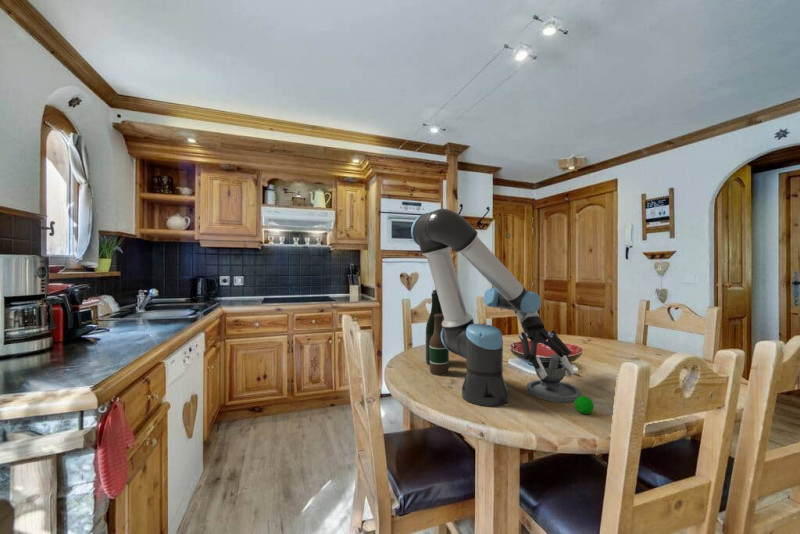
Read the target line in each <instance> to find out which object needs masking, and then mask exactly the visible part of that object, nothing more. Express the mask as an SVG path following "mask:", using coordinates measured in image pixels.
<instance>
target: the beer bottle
mask: <svg viewBox="0 0 800 534" xmlns="http://www.w3.org/2000/svg"><path fill="white" fill-rule="evenodd" d="M434 317H435V323H434V334H433V335H432V337H431V339H430V345H429V352H430V365H429V372H430V374H432V375H434V376H445V375H447V374H448V373H449V372H450V371H449V369H450V365H449V364H450V363H449V362H450V351H449V350H448V349H446V348H445V346H444V345H443V343H442V341H441V331H442V328H443V327H442V322H443V315H442V314H435V315H434Z"/></svg>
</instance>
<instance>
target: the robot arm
mask: <svg viewBox="0 0 800 534" xmlns="http://www.w3.org/2000/svg"><path fill="white" fill-rule="evenodd" d="M410 228H411V229H410V234H411V238H412V240H413V242H414V243H415V244H416V245H418V246H419V249H420V253H421V255H422V256H424V257H426V258H427V262H428V265H429V269H430V273H431V275H432V280H433V283H434V286H435V287H434V288H435V290H436V291H437V295H438V298H439V302H440V305H441V309H442V312H443V316H444V320H443V322H442V327H443V328H442V331H441V341H442V343H443V345H444V346H445V348H446V349H448V350H449V353H452V354H454V355H457V356H459V357H462V358H463V359H465V360H466V375H465V378H464V381H463V384H462V387H461V397H462V399H464V400H465V401H466V402H469V403H471V404H473V405H478V406H482V407H483V406H484V407H485V406H486V407H494V406H501V405H505V404H506V403H507V402H509V390H508V387H507V383H506V381H505V377H504V375H503V369H504V365H503V362H504V361H503V359H504V356H503V353H504V352H503V351H504V350H503V349H504V346H503V345H504V340H503V333H502V331H501V330H500V329H499V328H498V327H496V326H493V325H490V324H485V323H475V322H474V318H473V316H472V315H471V314H470V313H468V312H467V308H466V304H465V300H464V298H463V294H462V291H461V286H460V283H459V279H458V275H457V272H456V269H455V265H454V260H453V257H452V254H451V250H452V251H454V252H455V253H457V254H458V253H460V254H461V255H462V256H463V257H464V258H465V260H467V262H469V263H470V264H471V265H472V266H473V267H474V268H475V269H476V271H478V272H479V273H480V274H481V276H483V278H485V280H486V281H487V282H488V283H489V284H490V285H491V286H492V287H488V288H486V290H485V291H484V292H483V293H484V295H483V302H484V304H485V305H486V306H487V307H489V308H494V309H495V308H496V309H497V308H498V309H501V310H507V311H513V312H514V314H515V316H516V317H517V319H518V321H519V323H520V327H521V328H522V330H523V331H522V332H521V333H520V335H518V337H519V340H520V341H521V346H522V353H523V358H524V360H526V361H527V360H528V361H529V363H532V366H533V367H534V370H535V369H537V370H538V372H539V374H540V376H541V378H542V379H544V378H545V377H546V376H547V373H546V371H545V369H544V367H543V365H542V363H541V361H542V360H541V359H540V357H539V356H538V357H537V349H538V344H544V346H547V347H548V348H550V349H551V350H552V351H553V352H554V354H557V355H559V357H560V360H559V361H560V363H561V364H563V365H564V366H565V367H566V373H567V375H568V377H572V376H573V375H575V374H576V372H575V370H574V368H573V366H572V362H571V360H570V358H569V356H570V355H571V353H572V351H571V350H570V349H569V348H568V346H567V345H566V344H565V343H564V342H563V341H562V340H561V338H560V337H559V336H558V335H557V333H556V331H555V330H553V329H552V330H551V331H548V330H547V329H545V324H544V322H543V321H542V318H541V317H540V314H539V313H538V311H539V310H540V309H541V306H542V300H541V296H540V295H539V294H538V293H537V292H534V291H531V290H527V289H526V288H525V286H524V285H523V284H522V283H521V282H520V281H519V280H518V279H517V278H516V277H515V275H513V274H512V273H511V271H509V269H508V268H507V267H506V266H505V265H504V264H503V263H502V262H501V260H499V259H498V258H497V256H496V255H495V254H494V253H493V252H492V251H491V249H490V248H488V247H487V245H486V244H484V242H483V241H482V240H481V239H480V237H478V231H477V230H476V228H475V227H473V225H472V224H471V223H470V222H468V220H467V219H465V218H464V217H463V216H461V215H460V214H458V212H455V211H453V210H451V209H448V208H439V209H435V210H433V211H430V212H425V213H423V214H421V215H419V216H418V217H416V218H415V219H414V221H413V223H412V224H411V227H410ZM528 339H529V340H530V343H529V340H528Z"/></svg>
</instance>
